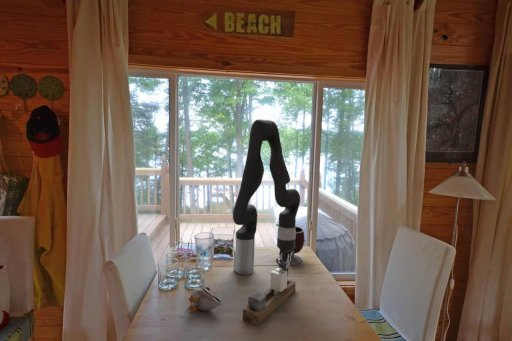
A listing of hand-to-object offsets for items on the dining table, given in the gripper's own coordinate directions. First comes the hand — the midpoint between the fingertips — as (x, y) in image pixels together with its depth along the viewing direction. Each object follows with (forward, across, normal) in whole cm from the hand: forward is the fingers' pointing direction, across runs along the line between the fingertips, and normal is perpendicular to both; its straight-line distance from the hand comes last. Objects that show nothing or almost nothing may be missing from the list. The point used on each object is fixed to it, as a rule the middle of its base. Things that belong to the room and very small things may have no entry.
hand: (284, 276), depth 125 cm
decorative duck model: (+8, +27, -20) cm, 34 cm away
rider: (+5, +5, 0) cm, 7 cm away
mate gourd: (+8, -33, -15) cm, 37 cm away
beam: (+8, +11, 0) cm, 13 cm away
